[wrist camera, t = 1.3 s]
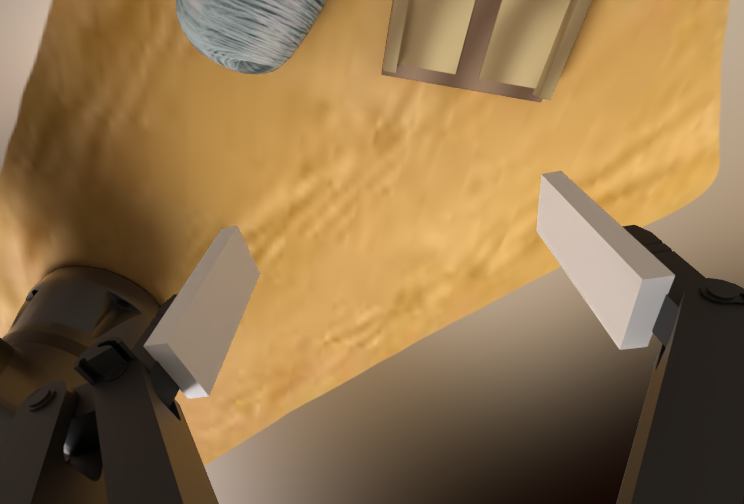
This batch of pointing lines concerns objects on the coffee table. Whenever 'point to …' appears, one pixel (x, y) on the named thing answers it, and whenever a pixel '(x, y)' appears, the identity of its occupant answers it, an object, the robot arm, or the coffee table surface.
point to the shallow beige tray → (484, 43)
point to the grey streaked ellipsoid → (248, 30)
